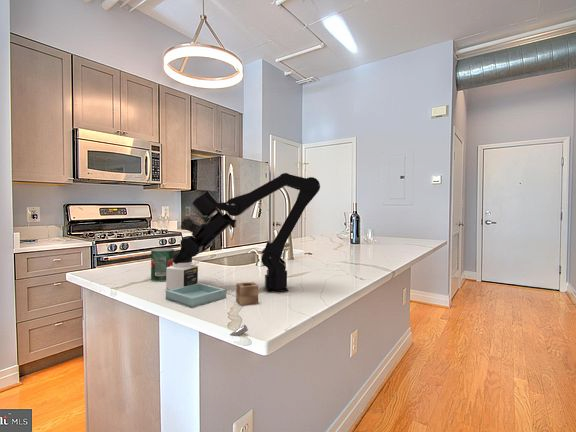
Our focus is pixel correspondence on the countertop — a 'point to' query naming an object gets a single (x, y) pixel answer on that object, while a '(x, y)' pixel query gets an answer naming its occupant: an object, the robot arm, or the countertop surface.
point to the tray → (195, 295)
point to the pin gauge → (240, 331)
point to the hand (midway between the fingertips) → (179, 260)
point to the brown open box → (247, 293)
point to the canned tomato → (160, 263)
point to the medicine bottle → (181, 274)
